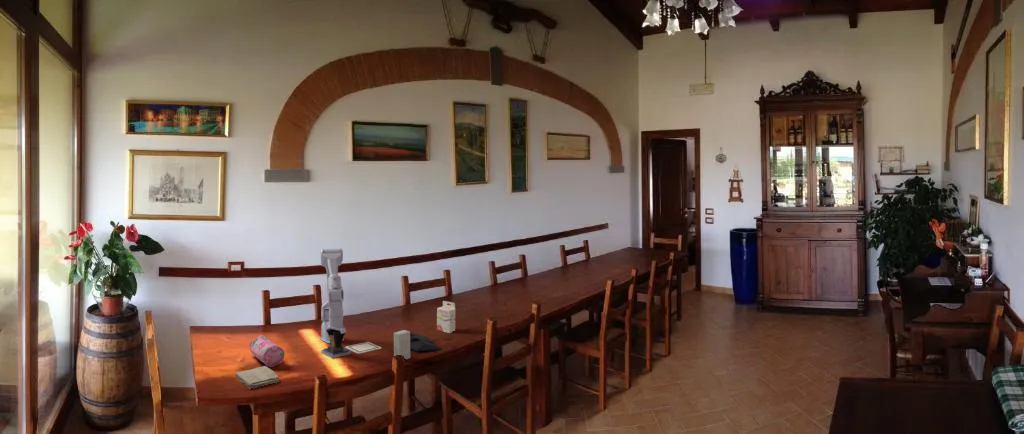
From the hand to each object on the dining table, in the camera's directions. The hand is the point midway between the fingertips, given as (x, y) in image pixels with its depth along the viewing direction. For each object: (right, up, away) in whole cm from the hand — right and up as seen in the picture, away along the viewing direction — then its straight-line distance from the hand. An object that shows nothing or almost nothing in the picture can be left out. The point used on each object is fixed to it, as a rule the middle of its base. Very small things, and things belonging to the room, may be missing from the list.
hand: (336, 345), depth 265 cm
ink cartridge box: (+45, -1, +39) cm, 59 cm away
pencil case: (-27, -4, -10) cm, 29 cm away
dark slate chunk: (+35, -4, +14) cm, 38 cm away
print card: (+10, -3, +9) cm, 14 cm away
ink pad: (0, -4, 0) cm, 3 cm away
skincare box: (+30, -5, -5) cm, 31 cm away
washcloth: (-21, -7, -32) cm, 39 cm away
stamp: (0, -2, 0) cm, 2 cm away
